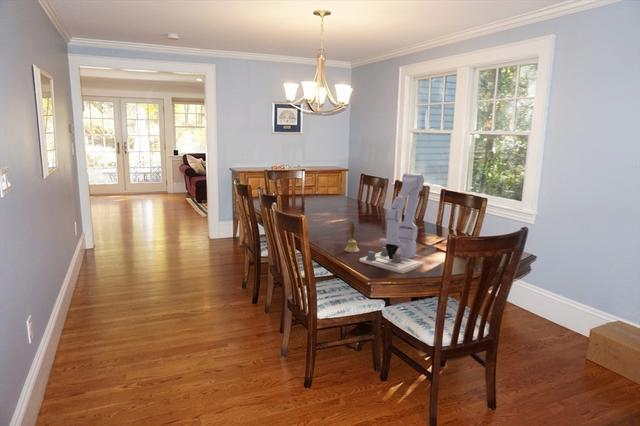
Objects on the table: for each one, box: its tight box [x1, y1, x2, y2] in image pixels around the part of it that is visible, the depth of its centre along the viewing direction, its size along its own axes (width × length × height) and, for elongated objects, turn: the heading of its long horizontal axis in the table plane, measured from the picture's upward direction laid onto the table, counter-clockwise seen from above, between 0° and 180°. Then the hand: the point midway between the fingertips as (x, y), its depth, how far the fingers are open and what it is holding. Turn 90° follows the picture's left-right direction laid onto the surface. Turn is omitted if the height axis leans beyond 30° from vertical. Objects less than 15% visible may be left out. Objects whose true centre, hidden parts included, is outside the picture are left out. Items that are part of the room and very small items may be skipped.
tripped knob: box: [391, 252, 402, 263], centre depth 220 cm, size 4×4×4 cm
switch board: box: [359, 251, 424, 275], centre depth 223 cm, size 18×26×2 cm
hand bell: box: [344, 221, 360, 253], centre depth 244 cm, size 8×8×16 cm
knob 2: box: [380, 246, 388, 256], centre depth 232 cm, size 4×4×4 cm
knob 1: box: [366, 250, 376, 261], centre depth 223 cm, size 4×4×4 cm
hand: (391, 259), depth 222 cm, fingers closed
